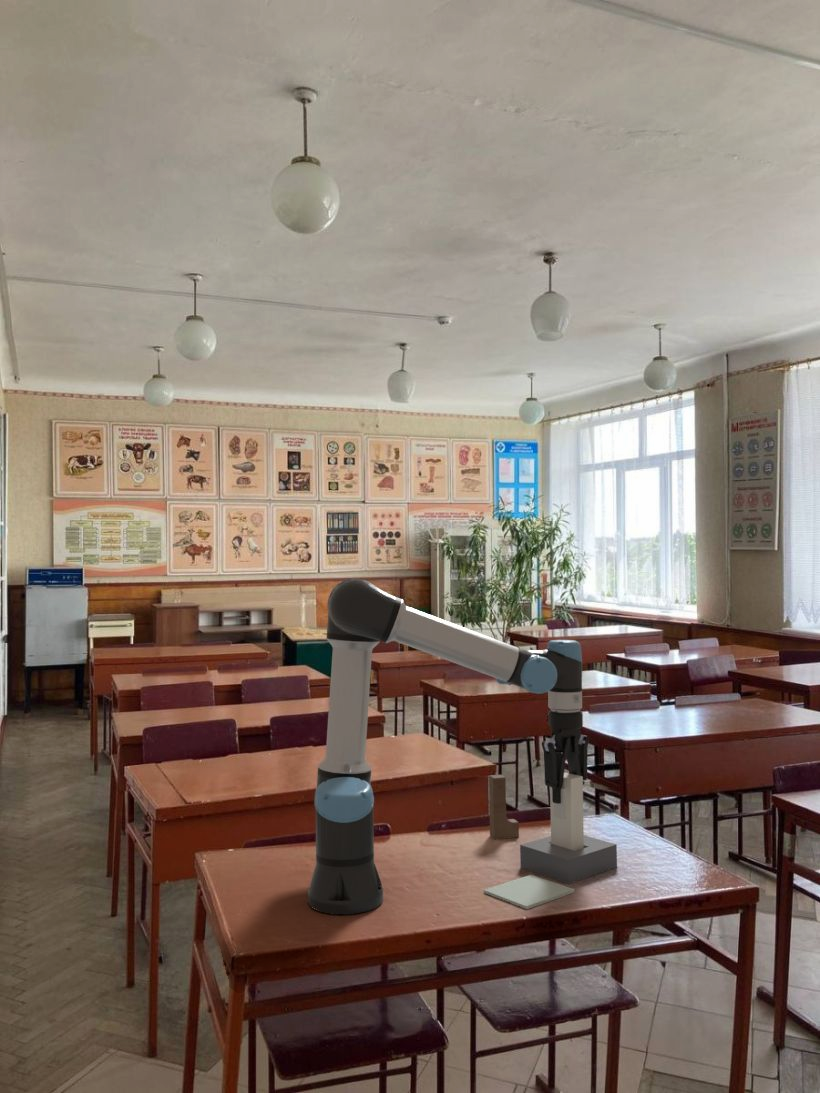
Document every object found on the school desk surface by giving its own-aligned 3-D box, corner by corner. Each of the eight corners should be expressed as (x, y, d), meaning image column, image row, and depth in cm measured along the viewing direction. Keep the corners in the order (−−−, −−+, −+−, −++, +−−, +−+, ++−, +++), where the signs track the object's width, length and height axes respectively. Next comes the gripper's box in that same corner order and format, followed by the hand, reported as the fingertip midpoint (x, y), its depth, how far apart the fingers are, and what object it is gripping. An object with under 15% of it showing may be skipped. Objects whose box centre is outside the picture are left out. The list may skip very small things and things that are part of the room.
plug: (571, 853, 195) (570, 779, 196) (551, 846, 200) (550, 774, 201) (583, 849, 198) (582, 776, 198) (562, 843, 203) (562, 771, 203)
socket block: (569, 883, 188) (568, 859, 189) (520, 867, 199) (520, 844, 199) (617, 867, 199) (616, 844, 199) (568, 852, 209) (568, 830, 210)
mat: (526, 909, 175) (526, 906, 175) (483, 892, 184) (483, 889, 184) (574, 892, 183) (574, 889, 183) (531, 877, 193) (531, 874, 193)
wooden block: (494, 839, 220) (493, 778, 221) (489, 836, 224) (488, 775, 224) (519, 837, 222) (518, 776, 223) (514, 833, 225) (512, 773, 226)
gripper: (552, 715, 192) (553, 826, 191) (603, 707, 202) (604, 812, 202) (526, 711, 197) (527, 819, 197) (577, 704, 208) (578, 805, 208)
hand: (566, 815), depth 199 cm, fingers closed on plug, 4 cm apart
